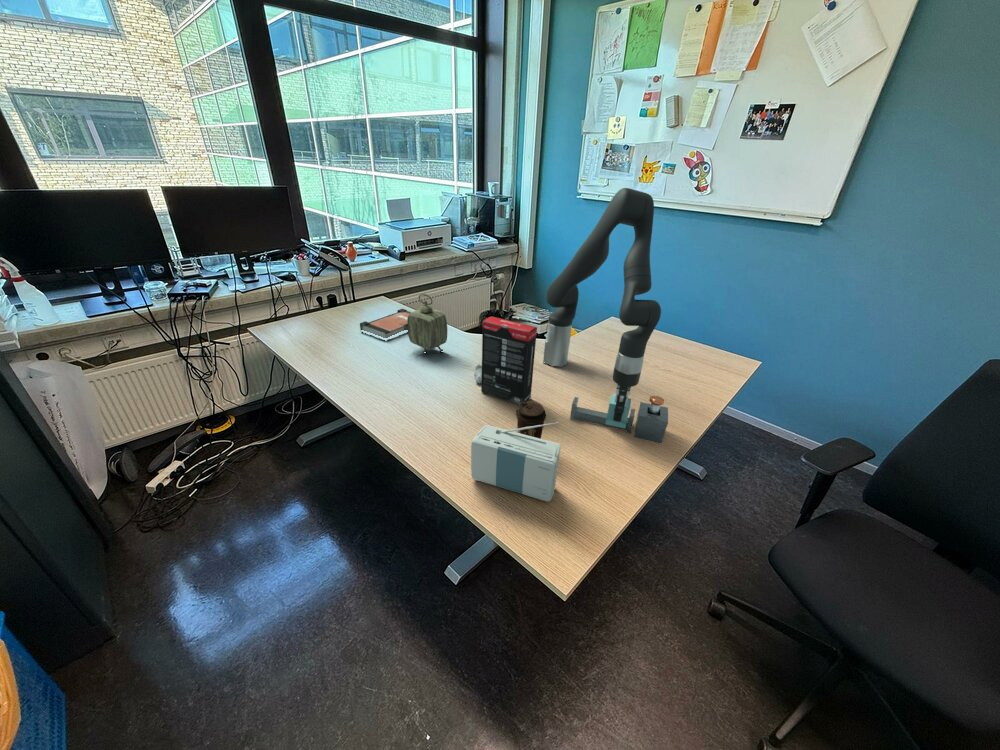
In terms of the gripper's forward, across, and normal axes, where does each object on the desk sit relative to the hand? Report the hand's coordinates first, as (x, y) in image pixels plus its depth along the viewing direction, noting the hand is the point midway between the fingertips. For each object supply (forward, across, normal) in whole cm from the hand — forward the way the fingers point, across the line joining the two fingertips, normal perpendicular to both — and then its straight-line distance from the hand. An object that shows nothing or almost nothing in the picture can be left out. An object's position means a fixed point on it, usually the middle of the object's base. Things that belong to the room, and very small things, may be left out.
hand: (617, 414), depth 122 cm
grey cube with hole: (+4, 0, +10) cm, 11 cm away
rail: (+4, 0, -5) cm, 6 cm away
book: (+5, -39, -106) cm, 114 cm away
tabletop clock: (+5, -23, -80) cm, 83 cm away
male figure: (+5, -19, -51) cm, 54 cm away
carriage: (+3, 0, 0) cm, 3 cm away
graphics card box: (+5, -3, -38) cm, 38 cm away
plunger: (-1, 0, +10) cm, 10 cm away
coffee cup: (+5, +20, -23) cm, 31 cm away
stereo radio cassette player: (+5, +36, -22) cm, 42 cm away
